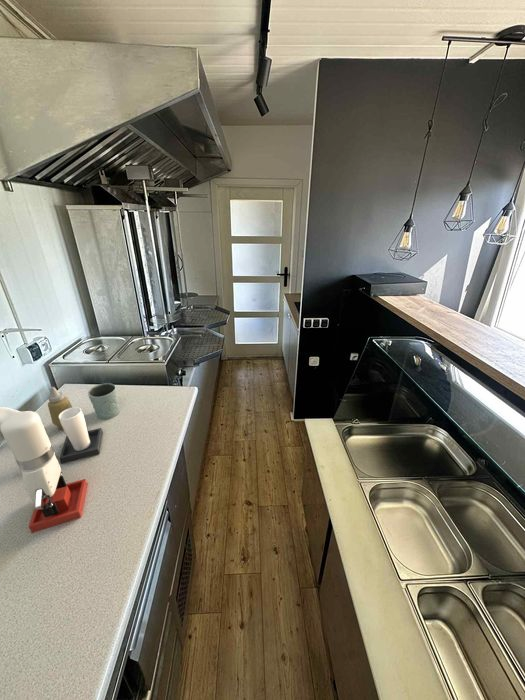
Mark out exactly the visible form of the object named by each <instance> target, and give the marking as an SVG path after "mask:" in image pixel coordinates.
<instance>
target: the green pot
mask: <svg viewBox="0 0 525 700" xmlns="http://www.w3.org/2000/svg"><path fill="white" fill-rule="evenodd" d="M87 395H88V398H89V400H90V402H91V404H92V407H93V409H94V412H95V416H96V417H97V419H99V420H101V421H106V420H111V419H113V418H115V417H116V416H118V415H119V413H120V404H119V400H118V393H117V386H116V385H115V384H113V383H111V382H104V383H100V384H96V385H94V386H93V387H91V388H90V389H89V390H88V391H87Z"/></svg>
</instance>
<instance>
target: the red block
mask: <svg viewBox="0 0 525 700" xmlns="http://www.w3.org/2000/svg"><path fill="white" fill-rule="evenodd" d="M52 497H53V503H55V504H56V506H57V508H58V510H59V512H62V511H66V510H69V508H70V504H71V499H72V495H71V493H70V490H69V488H68V486H66V487H62V488H59V489H56V490H55V493H54V494H53V496H52ZM46 503H49V499H48V498H47V500H46Z"/></svg>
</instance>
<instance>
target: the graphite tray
mask: <svg viewBox="0 0 525 700" xmlns="http://www.w3.org/2000/svg"><path fill="white" fill-rule="evenodd" d="M87 431H88V435H89V439H90V442H91V443H90V446H89V447H88V448H86V449H85V450H82V451H76V450H74V448H73V446H72V444H71V442H70V440H69V438H68V437H67V435H66V436H65V439H64V441H63V445H62V448H61V451H60V454H59V457H58V461H59V463H60V464H61V465H62V464H66V463H70V462H75V461H78V460H83V459H85V458H91V457H94V456H96V455H100V453H101V447H102V441H103V435H104V432H103V428H102V427H100V428H94V429H89V430H87Z"/></svg>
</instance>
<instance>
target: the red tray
mask: <svg viewBox="0 0 525 700" xmlns="http://www.w3.org/2000/svg"><path fill="white" fill-rule="evenodd" d="M66 486H68V488H69V490H70V493H71V495H72V499H71V504H70V508H69V510H66V511H62V512H59V513H58V514H56V515H53V516H49V517H45V516H44V514H43V512H42V510H40V511H39V510H36V509H35V508H34V510H33V513H32V515H31V518H30V521H29V524H28V529H29V531H30V532H31V534H33V533H37V532H39V531H42V530H46V529H49V528H52V527H56V526H59V525H62V524H65V523H68V522H71V521H74V520H78V519H80V518H82V515H83V510H84V505H85V500H86V494H87V490H88V489H87V488H88V482H87V479H86V478H83V479H79V480H75V481H72V482H68V483H66ZM44 495H46V494H45V493H44ZM46 500H47V498H45V499H43V503H44V504H45V503H46Z"/></svg>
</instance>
